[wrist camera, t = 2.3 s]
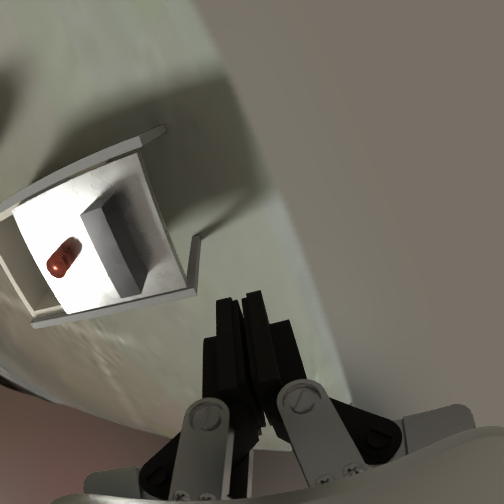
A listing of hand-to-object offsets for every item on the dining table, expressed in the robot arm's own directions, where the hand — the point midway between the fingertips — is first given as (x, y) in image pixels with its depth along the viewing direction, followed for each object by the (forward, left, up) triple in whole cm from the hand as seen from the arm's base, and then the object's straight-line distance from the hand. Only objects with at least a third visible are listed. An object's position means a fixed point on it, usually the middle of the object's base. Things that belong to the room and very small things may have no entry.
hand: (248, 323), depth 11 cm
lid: (0, -12, -12) cm, 17 cm away
